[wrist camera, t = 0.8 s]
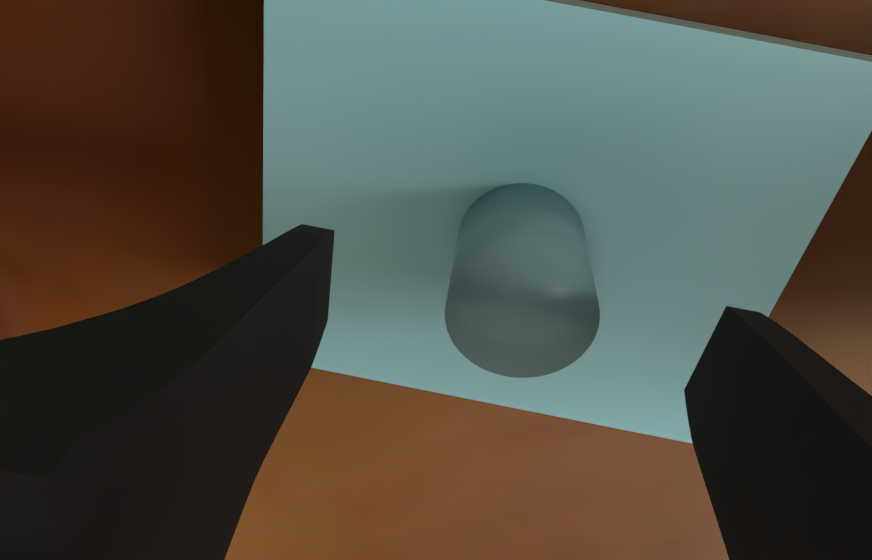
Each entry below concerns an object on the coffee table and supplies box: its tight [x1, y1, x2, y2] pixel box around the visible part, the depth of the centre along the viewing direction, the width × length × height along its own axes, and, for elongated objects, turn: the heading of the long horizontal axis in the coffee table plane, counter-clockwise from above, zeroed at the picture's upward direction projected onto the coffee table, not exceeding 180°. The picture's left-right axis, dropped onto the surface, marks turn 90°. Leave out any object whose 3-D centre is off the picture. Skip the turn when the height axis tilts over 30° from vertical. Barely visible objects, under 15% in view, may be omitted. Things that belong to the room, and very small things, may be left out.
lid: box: [263, 0, 872, 443], centre depth 13 cm, size 12×10×4 cm
